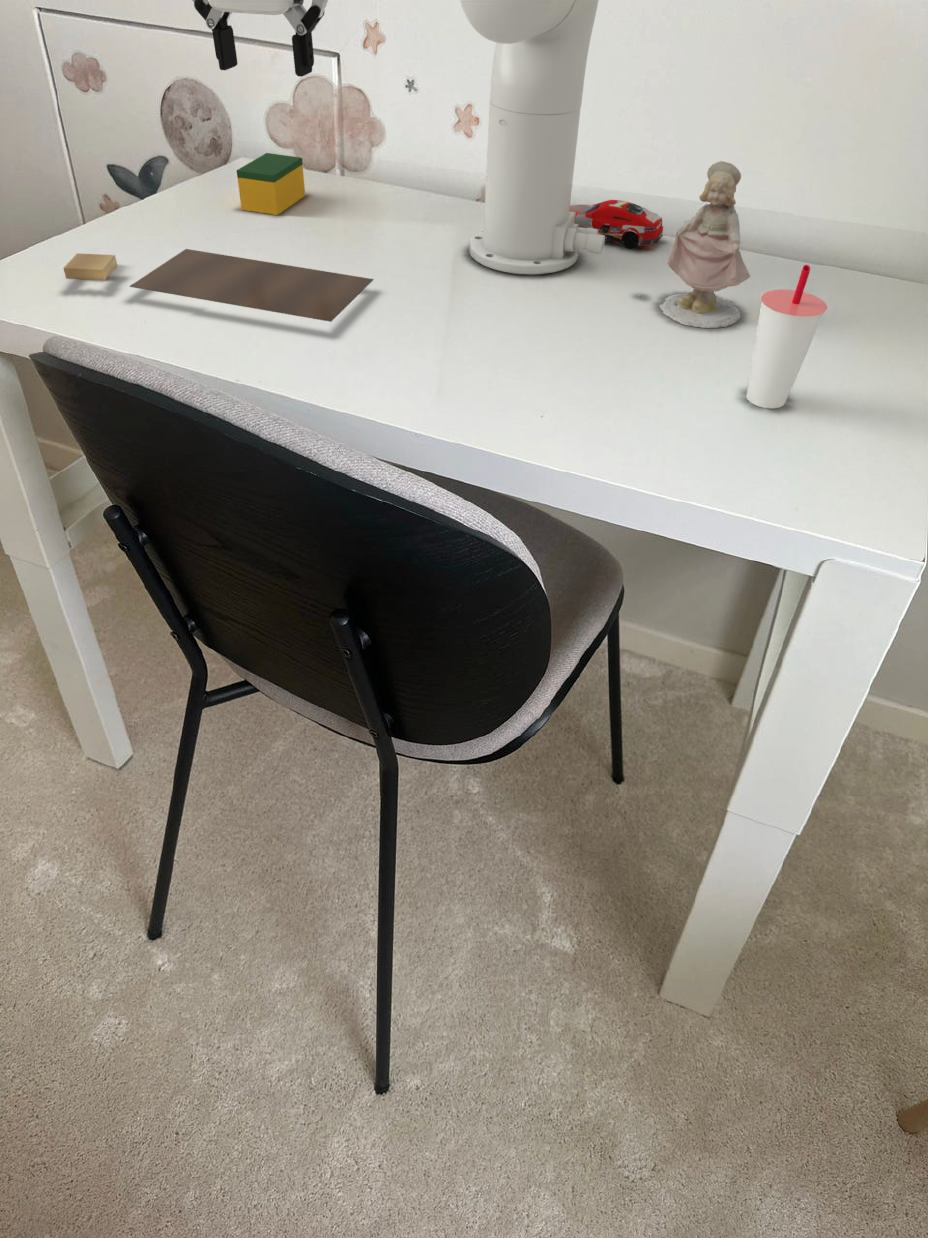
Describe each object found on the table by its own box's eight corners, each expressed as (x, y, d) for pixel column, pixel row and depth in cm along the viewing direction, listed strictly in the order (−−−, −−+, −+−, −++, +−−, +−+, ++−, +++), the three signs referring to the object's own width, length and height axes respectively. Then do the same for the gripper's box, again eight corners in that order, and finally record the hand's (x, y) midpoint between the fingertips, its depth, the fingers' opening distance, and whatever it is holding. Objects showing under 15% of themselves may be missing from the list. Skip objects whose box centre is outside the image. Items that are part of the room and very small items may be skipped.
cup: (796, 418, 77) (840, 281, 69) (733, 408, 78) (769, 272, 70) (796, 390, 81) (838, 257, 73) (736, 380, 82) (771, 248, 74)
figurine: (628, 318, 90) (660, 152, 84) (637, 311, 99) (667, 161, 92) (737, 335, 88) (778, 166, 82) (736, 326, 97) (773, 174, 90)
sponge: (305, 195, 116) (302, 157, 113) (277, 215, 110) (273, 175, 107) (270, 190, 117) (266, 152, 114) (241, 209, 111) (236, 170, 108)
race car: (547, 234, 109) (550, 199, 106) (562, 220, 112) (566, 187, 110) (652, 254, 105) (657, 218, 102) (664, 239, 108) (670, 205, 106)
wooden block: (120, 278, 94) (115, 254, 93) (108, 293, 91) (102, 269, 90) (83, 276, 94) (76, 252, 93) (69, 292, 91) (63, 267, 90)
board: (374, 292, 94) (373, 278, 93) (332, 335, 86) (331, 321, 85) (188, 262, 98) (185, 248, 97) (132, 300, 90) (129, 286, 89)
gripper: (149, -121, 91) (183, 71, 103) (304, -117, 87) (321, 83, 99) (187, -124, 97) (215, 59, 108) (334, -120, 93) (347, 69, 104)
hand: (266, 70), depth 103 cm, fingers open, 9 cm apart
